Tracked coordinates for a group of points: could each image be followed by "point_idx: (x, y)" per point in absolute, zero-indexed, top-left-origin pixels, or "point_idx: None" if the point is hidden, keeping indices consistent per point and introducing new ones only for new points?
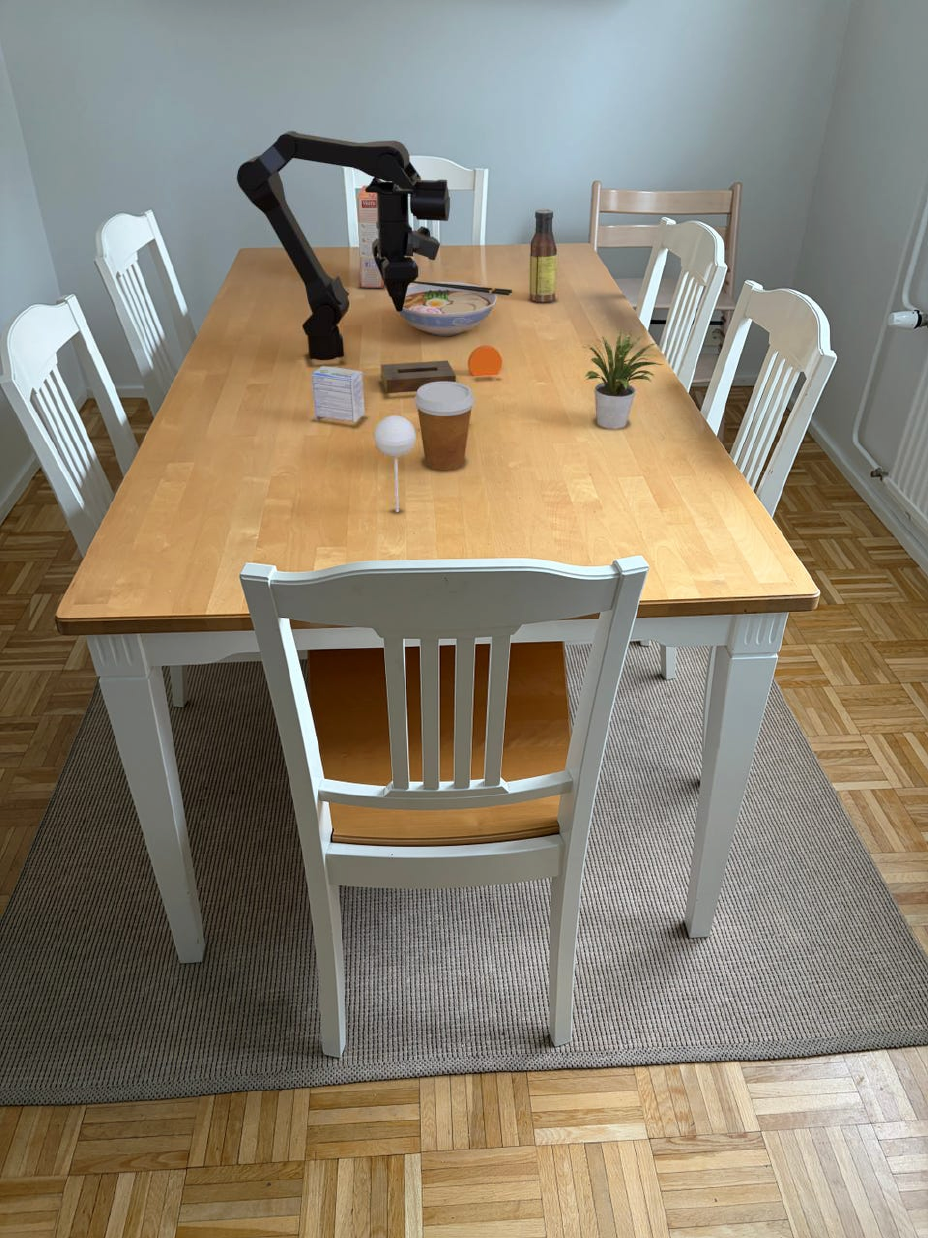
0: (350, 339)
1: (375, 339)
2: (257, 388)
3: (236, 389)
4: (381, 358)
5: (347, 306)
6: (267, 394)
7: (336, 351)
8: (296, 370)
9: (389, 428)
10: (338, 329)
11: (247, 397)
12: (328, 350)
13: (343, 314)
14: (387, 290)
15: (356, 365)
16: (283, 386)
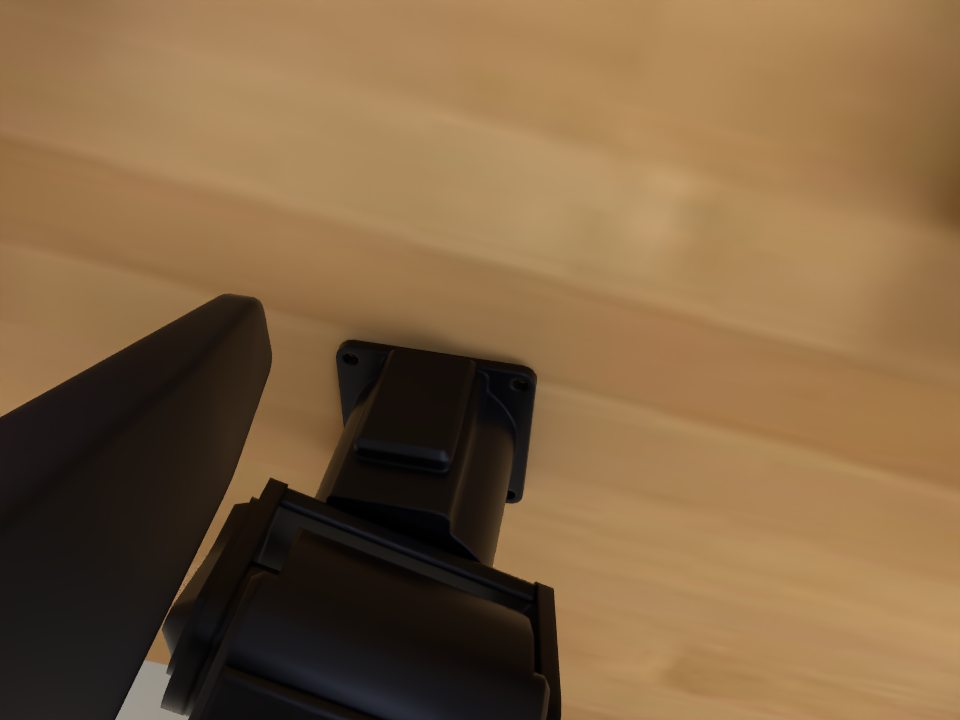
0: (87, 220)
1: (61, 54)
2: (718, 676)
3: (694, 713)
4: (488, 114)
5: (332, 606)
6: (805, 672)
7: (480, 428)
8: (559, 544)
9: None
10: (412, 510)
11: (797, 713)
12: (504, 483)
13: (466, 629)
14: (235, 463)
15: (581, 302)
16: (743, 619)
